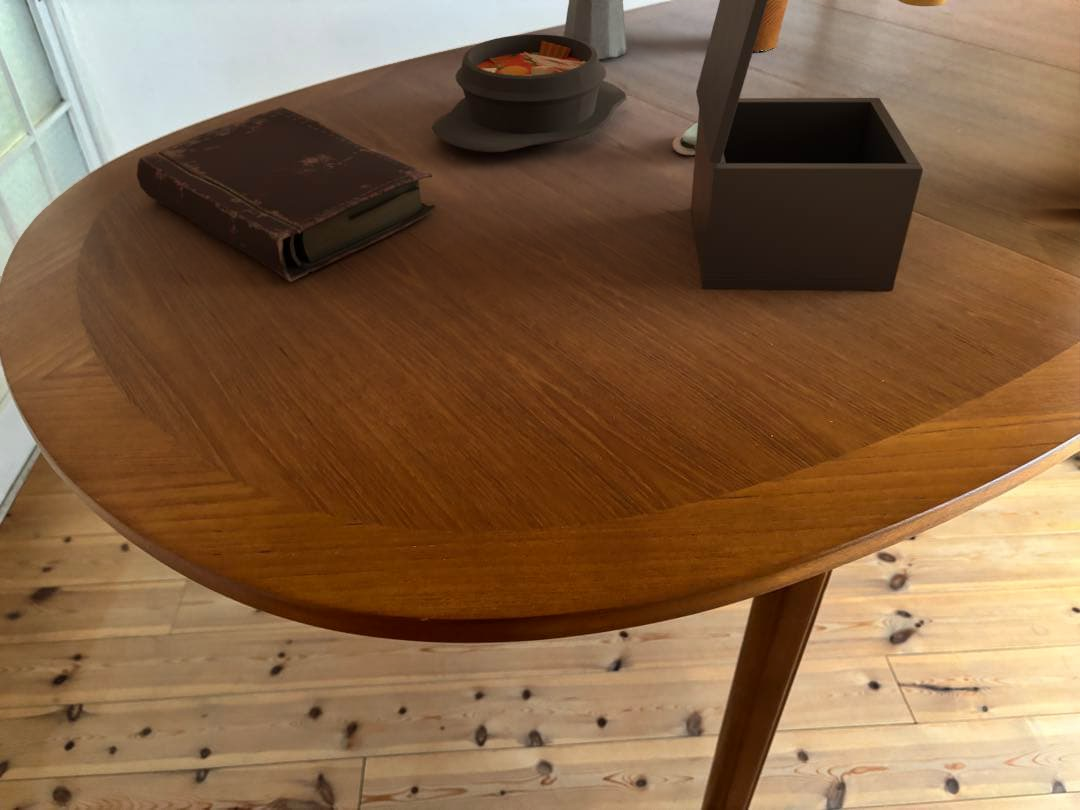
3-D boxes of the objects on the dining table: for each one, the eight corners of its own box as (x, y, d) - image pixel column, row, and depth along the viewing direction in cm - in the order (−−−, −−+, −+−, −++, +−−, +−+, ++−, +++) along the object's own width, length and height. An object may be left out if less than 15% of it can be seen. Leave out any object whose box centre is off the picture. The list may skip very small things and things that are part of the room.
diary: (283, 288, 80) (271, 237, 77) (145, 203, 94) (130, 157, 91) (442, 213, 91) (437, 165, 87) (296, 147, 104) (288, 103, 101)
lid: (760, -116, 72) (750, -118, 72) (789, -73, 61) (777, -76, 61) (705, 93, 83) (695, 92, 83) (720, 163, 71) (709, 161, 71)
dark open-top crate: (856, 209, 89) (879, 97, 82) (892, 290, 78) (923, 168, 71) (690, 208, 90) (699, 98, 83) (702, 288, 79) (714, 168, 72)
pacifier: (664, 158, 100) (718, 164, 98) (666, 101, 96) (722, 106, 94) (682, 133, 105) (734, 138, 103) (685, 78, 101) (739, 82, 99)
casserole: (550, 80, 119) (549, 12, 114) (662, 116, 109) (666, 43, 103) (398, 137, 106) (389, 64, 100) (510, 185, 95) (506, 106, 90)
